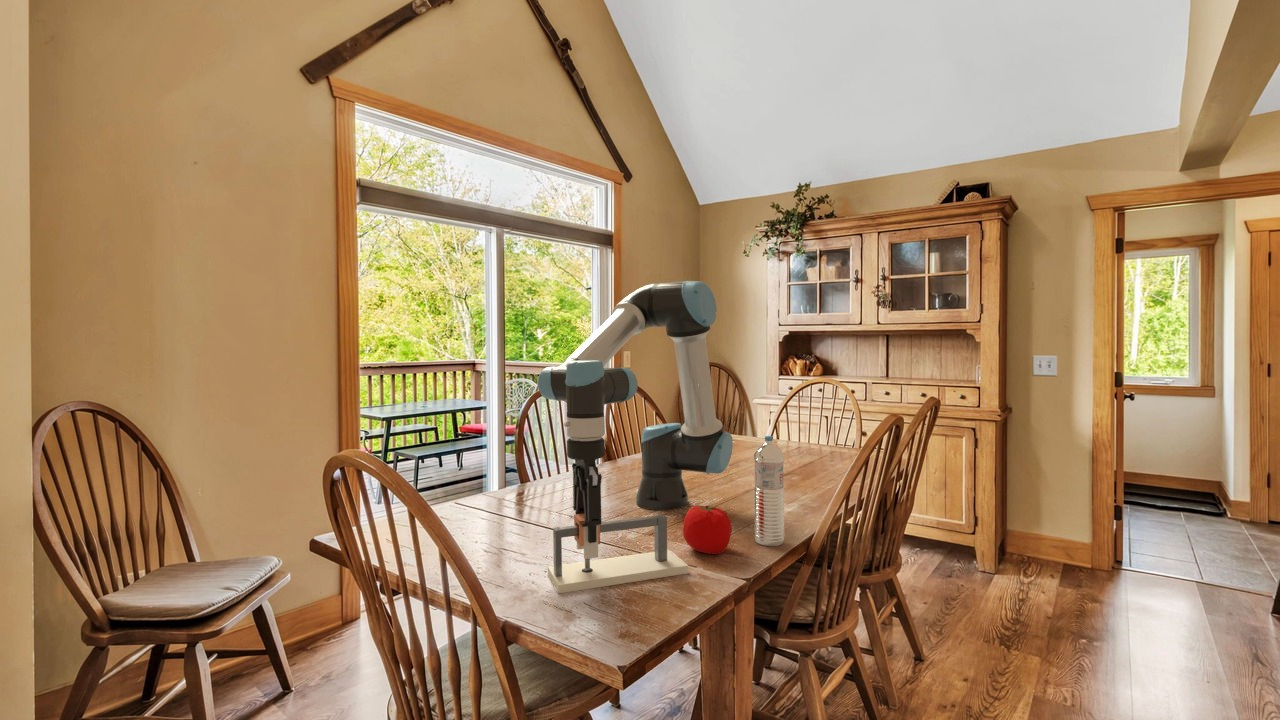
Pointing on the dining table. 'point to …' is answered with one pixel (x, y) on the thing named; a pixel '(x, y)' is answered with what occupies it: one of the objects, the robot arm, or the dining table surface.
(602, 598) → the dining table surface
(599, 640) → the dining table surface
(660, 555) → the grey slider rail frame
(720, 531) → the tomato
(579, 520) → the slider sleeve
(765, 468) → the water bottle
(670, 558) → the hole board
